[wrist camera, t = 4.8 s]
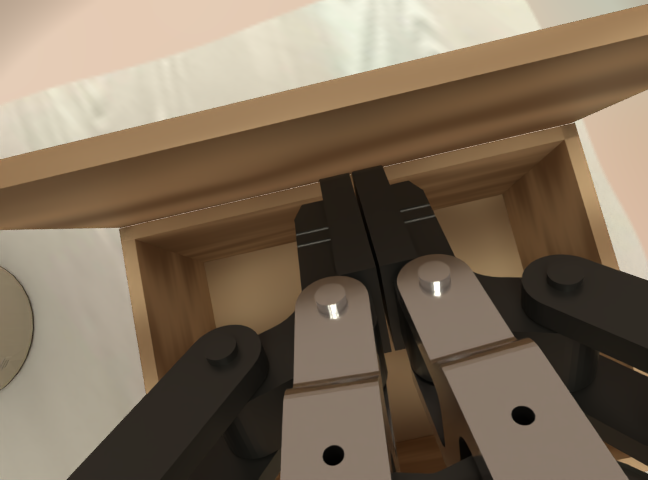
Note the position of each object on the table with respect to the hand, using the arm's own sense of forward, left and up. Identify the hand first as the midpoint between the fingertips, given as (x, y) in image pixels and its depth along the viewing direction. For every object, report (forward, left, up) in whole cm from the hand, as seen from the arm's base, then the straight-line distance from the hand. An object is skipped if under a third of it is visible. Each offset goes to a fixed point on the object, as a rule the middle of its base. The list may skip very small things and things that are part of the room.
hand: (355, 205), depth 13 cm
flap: (-2, +1, -3) cm, 4 cm away
